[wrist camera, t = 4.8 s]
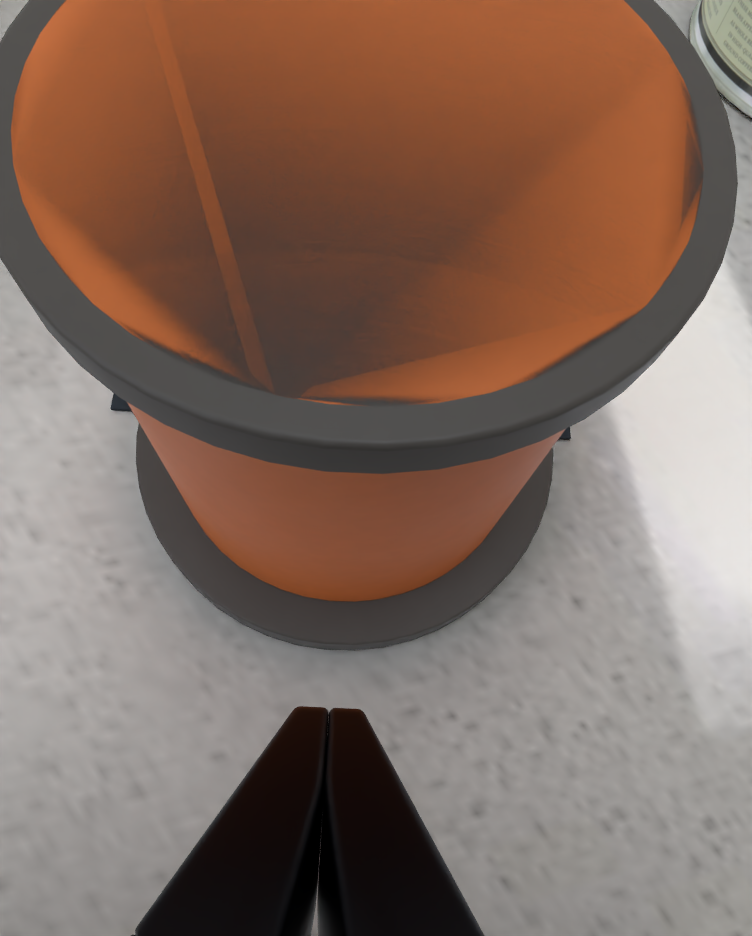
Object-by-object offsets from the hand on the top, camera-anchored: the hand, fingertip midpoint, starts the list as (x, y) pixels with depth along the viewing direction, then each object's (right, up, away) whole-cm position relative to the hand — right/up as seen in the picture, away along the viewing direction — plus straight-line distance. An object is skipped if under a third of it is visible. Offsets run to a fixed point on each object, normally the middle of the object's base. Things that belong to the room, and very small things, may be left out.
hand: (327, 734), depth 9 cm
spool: (0, +4, +10) cm, 11 cm away
